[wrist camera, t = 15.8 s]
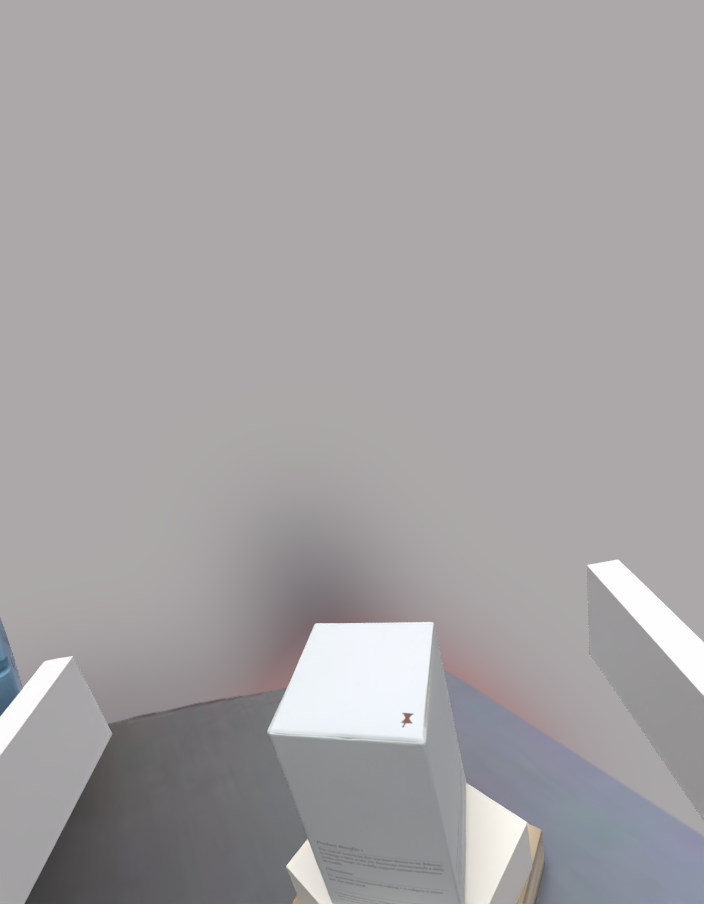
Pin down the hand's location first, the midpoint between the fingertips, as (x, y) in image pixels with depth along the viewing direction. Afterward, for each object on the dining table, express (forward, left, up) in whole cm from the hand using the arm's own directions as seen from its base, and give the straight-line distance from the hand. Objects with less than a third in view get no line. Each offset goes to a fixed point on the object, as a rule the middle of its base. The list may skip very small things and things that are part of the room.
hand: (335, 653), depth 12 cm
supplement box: (-6, +7, -22) cm, 23 cm away
